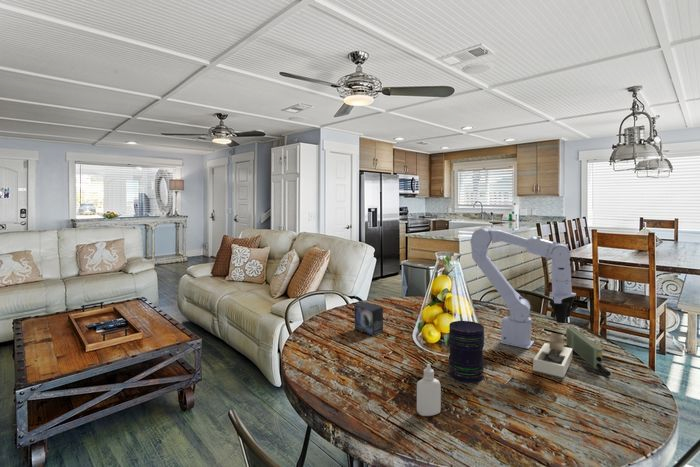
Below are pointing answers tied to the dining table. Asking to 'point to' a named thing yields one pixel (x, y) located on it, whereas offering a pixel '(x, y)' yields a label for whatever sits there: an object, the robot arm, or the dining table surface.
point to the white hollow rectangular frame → (550, 367)
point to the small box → (368, 318)
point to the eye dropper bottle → (428, 394)
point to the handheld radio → (585, 349)
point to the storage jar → (466, 351)
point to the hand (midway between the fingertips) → (563, 319)
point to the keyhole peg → (556, 347)
